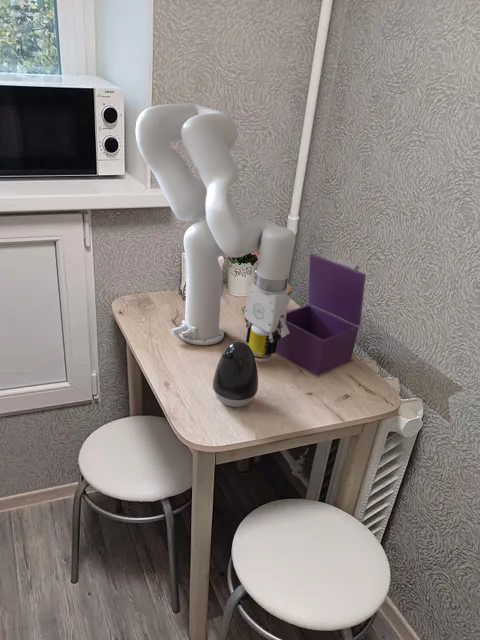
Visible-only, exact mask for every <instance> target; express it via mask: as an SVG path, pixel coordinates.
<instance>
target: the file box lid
mask: <svg viewBox="0 0 480 640" xmlns="http://www.w3.org/2000/svg"><path fill="white" fill-rule="evenodd" d="M359 270H360V265H359V264H356V263H354V262H351V261H348V260H346V259H343V258H338V259H337V261H332V260H329V259H327V258H324V257H321V256H319V255H316V254H314V253H310V254H309V271H308V272H309V273H308V275H309V276H308V302H307V303H308V304H310V305H312V306H314V307H316V308H319V309H321V310H323V311H325V312H327V313H329V314H331V315H334V316H336V317H338V318H340V319H342V320H344V321H347V322H349V323H351V324H353V325H355V326H357V327H360V325H361V322H362V321H361V320H362V314H363V313H362V312H363V303H364V294H365V286H366V276H367V274H366V273H364V272H362V271H359Z"/></svg>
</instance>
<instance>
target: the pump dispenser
mask: <svg viewBox="0 0 480 640" xmlns="http://www.w3.org/2000/svg"><path fill="white" fill-rule="evenodd" d="M212 389H213V390H214V393H215V396H216V398H217V399H218V401H220V403H222V404H223V405H225V406H228V407H232V408H240V407H244V406H246V405H248V404H249V403H250V402H251V401H253V399H254V398H255V396H256V394H257V393H258V391H259V390H258V389H259V373H258V366H257V361H256V360H255V357H254V354H253V352H252V350H251V348H250V346H249V343H247V342H246V341H243V340H235V341H232V342H231V343H229V344H228V345H227V346H226V348H225V349H224V350H223V352H222V353H221V356H220V358H219V360H218V363H217V365H216V369H215V371H214V376H213V380H212Z"/></svg>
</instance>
